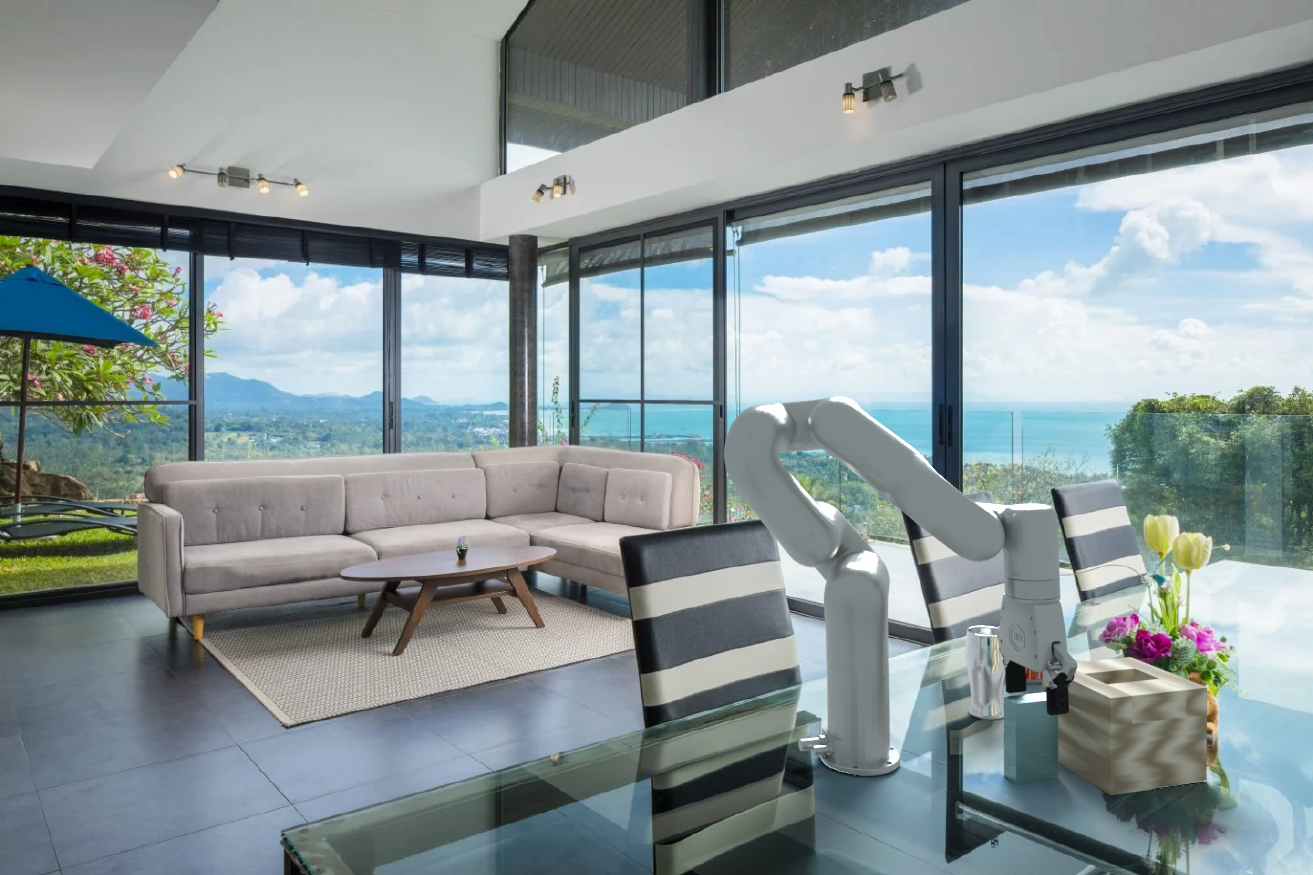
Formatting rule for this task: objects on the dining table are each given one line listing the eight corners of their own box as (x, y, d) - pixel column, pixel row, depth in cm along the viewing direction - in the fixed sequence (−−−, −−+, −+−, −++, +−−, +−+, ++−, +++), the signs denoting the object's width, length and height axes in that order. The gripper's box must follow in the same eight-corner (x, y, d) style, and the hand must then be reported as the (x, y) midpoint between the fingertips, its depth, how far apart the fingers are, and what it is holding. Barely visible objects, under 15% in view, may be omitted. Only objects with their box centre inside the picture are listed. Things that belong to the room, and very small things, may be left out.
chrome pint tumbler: (1011, 721, 150) (1010, 636, 149) (969, 719, 151) (968, 635, 150) (1003, 707, 157) (1003, 625, 156) (963, 705, 158) (962, 624, 157)
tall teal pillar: (1016, 783, 127) (1015, 703, 126) (1003, 775, 130) (1003, 696, 129) (1058, 778, 128) (1058, 698, 127) (1045, 769, 131) (1045, 692, 130)
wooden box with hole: (1110, 795, 122) (1110, 698, 122) (1042, 752, 137) (1042, 665, 136) (1206, 782, 126) (1207, 687, 125) (1130, 741, 140) (1130, 656, 140)
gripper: (975, 579, 135) (980, 687, 136) (1047, 603, 118) (1051, 726, 119) (1018, 574, 136) (1022, 681, 137) (1095, 598, 120) (1099, 719, 120)
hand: (1036, 702), depth 128 cm, fingers open, 9 cm apart
